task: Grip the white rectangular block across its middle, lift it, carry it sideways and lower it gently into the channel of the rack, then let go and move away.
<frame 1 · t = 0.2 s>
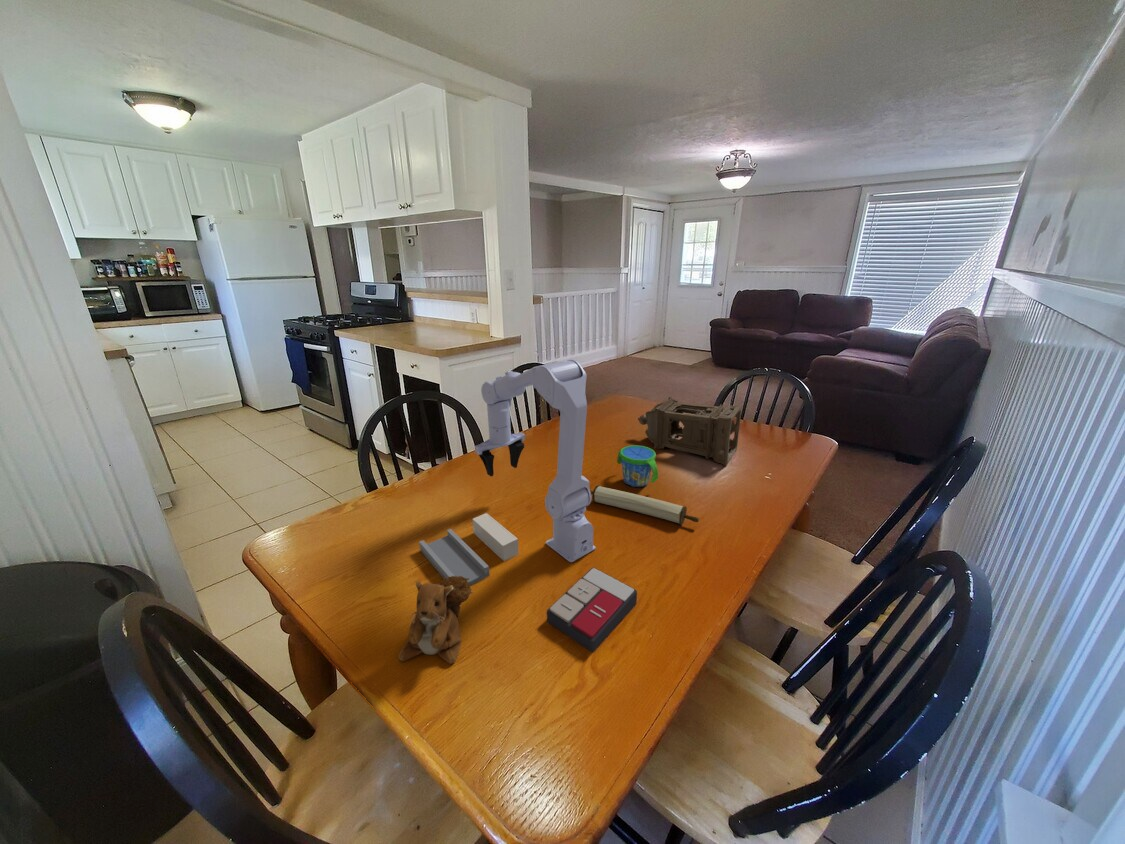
hand: (502, 470, 118), 10 cm above the table, tool pointing down, fingers open, 7 cm apart
calculator: (592, 614, 83), on the table
rack: (453, 562, 97), on the table
rolling pin: (637, 512, 116), on the table
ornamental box: (681, 447, 156), on the table
stuffed squirrel: (441, 636, 78), on the table
white rectangular block: (495, 544, 104), on the table
snack cup: (635, 482, 132), on the table
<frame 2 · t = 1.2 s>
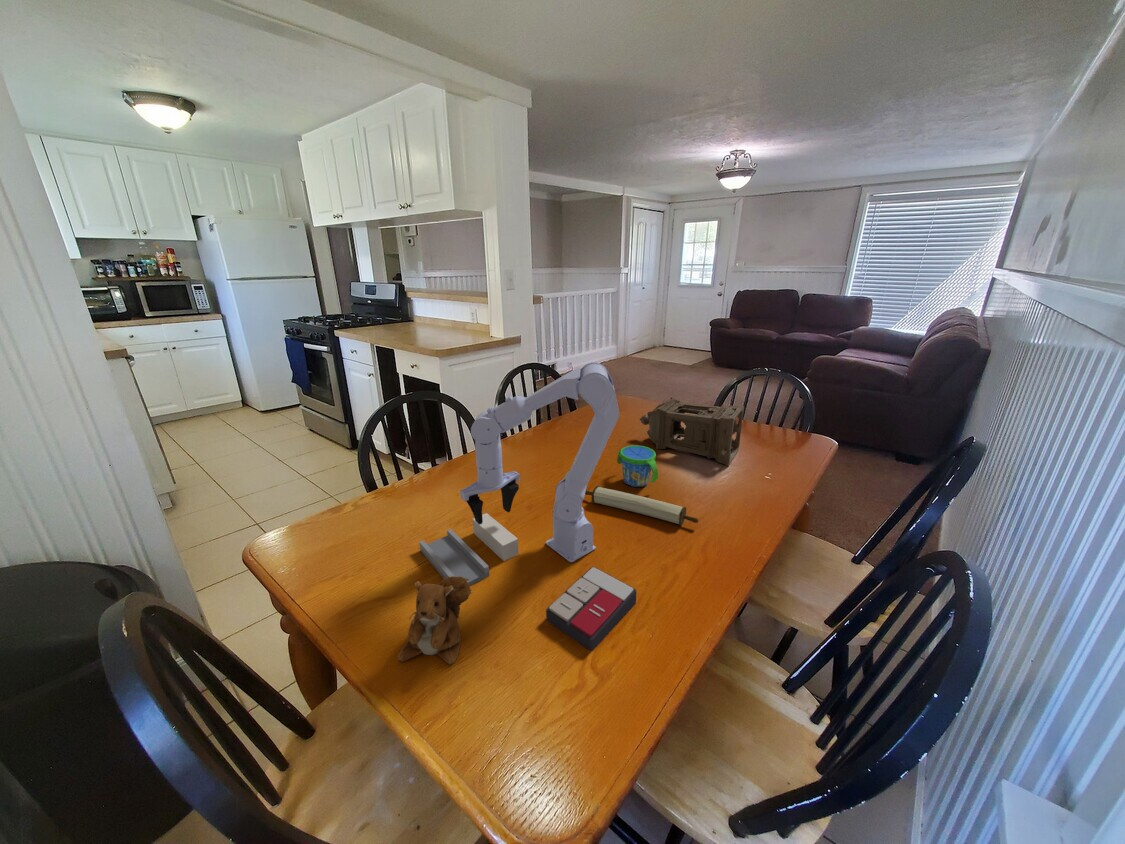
hand: (493, 516, 101), 8 cm above the table, tool pointing down, fingers open, 7 cm apart
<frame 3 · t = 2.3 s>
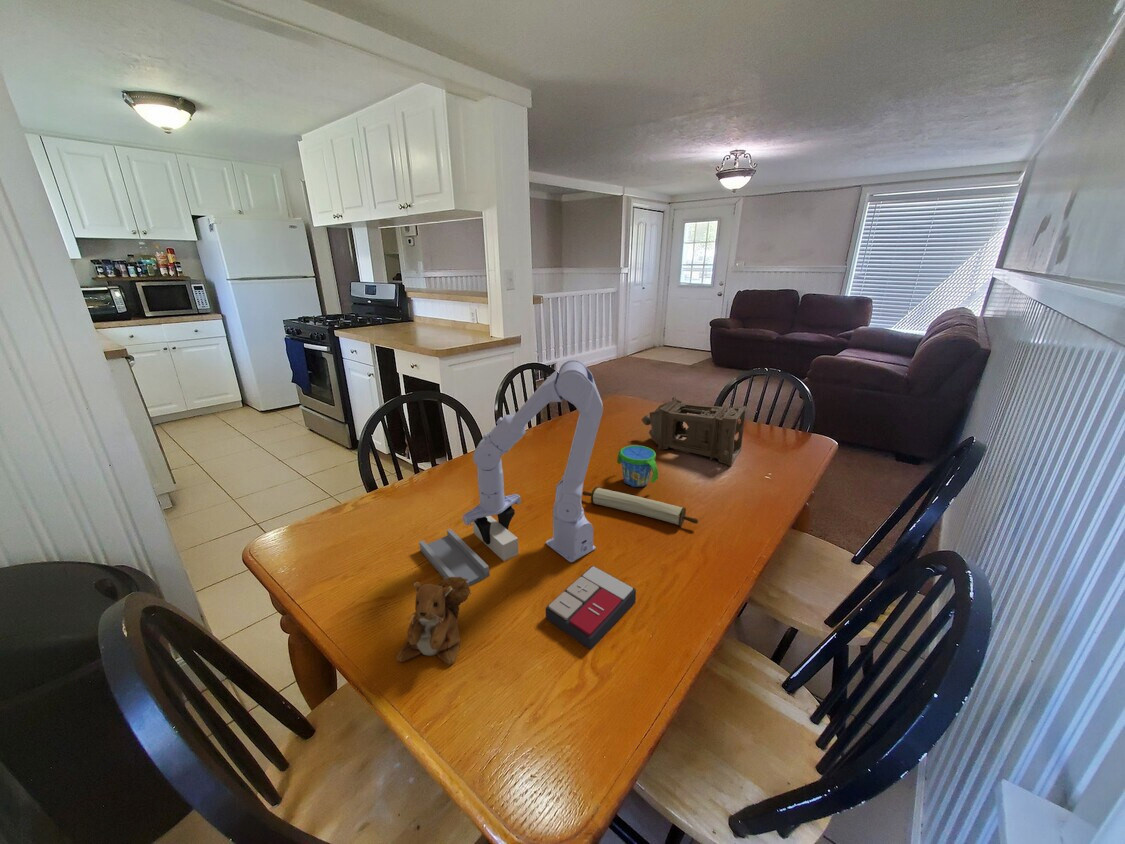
hand: (494, 538, 103), 1 cm above the table, tool pointing down, fingers closed on white rectangular block, 4 cm apart
white rectangular block: (495, 543, 104), on the table, touching gripper
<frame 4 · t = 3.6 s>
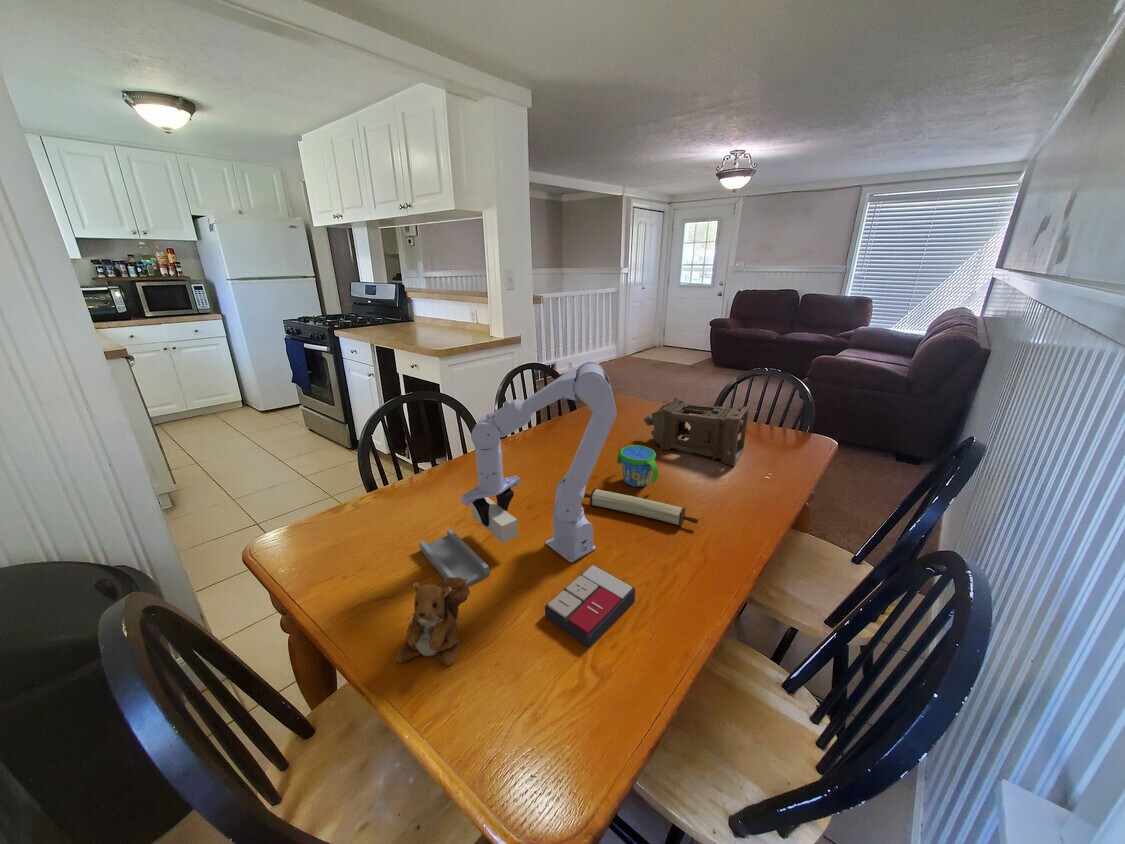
hand: (493, 520, 101), 6 cm above the table, tool pointing down, fingers closed on white rectangular block, 4 cm apart
white rectangular block: (494, 526, 102), point 5 cm above the table, touching gripper
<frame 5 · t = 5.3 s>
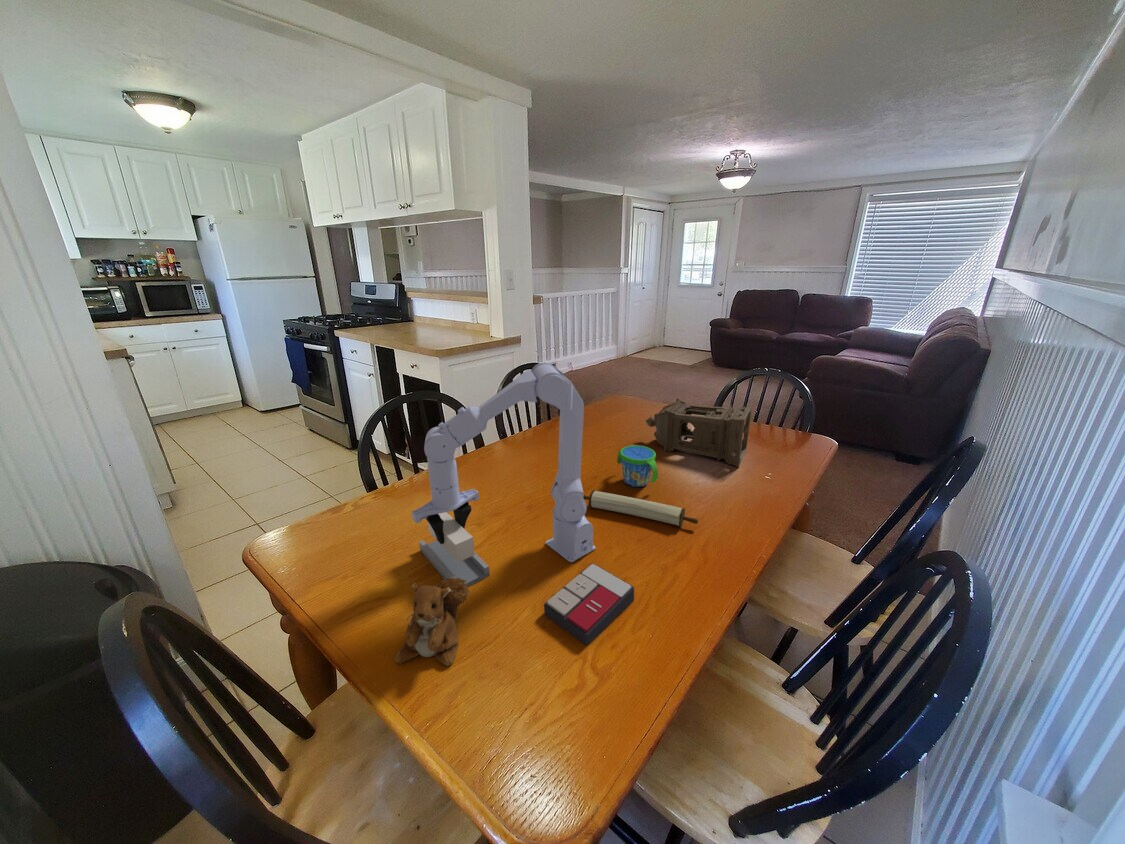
hand: (450, 537, 95), 7 cm above the table, tool pointing down, fingers closed on white rectangular block, 4 cm apart
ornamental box: (691, 449, 155), on the table
white rectangular block: (451, 543, 95), point 5 cm above the table, touching gripper
when the fingers open (4 cm above the table, at t = 6.6 s): white rectangular block drops 1 cm, resting on rack.
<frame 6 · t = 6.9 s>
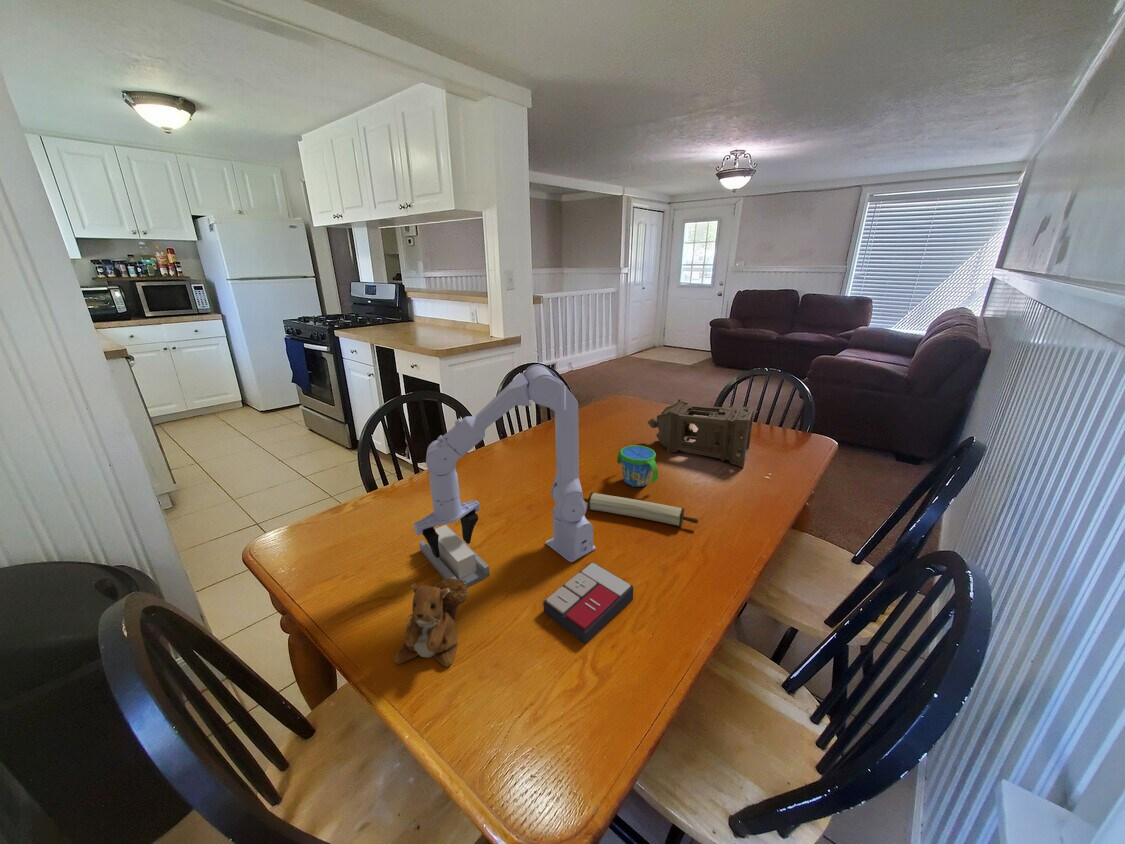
hand: (451, 548, 96), 4 cm above the table, tool pointing down, fingers open, 7 cm apart
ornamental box: (694, 450, 154), on the table
white rectangular block: (453, 558, 97), point 1 cm above the table, touching rack
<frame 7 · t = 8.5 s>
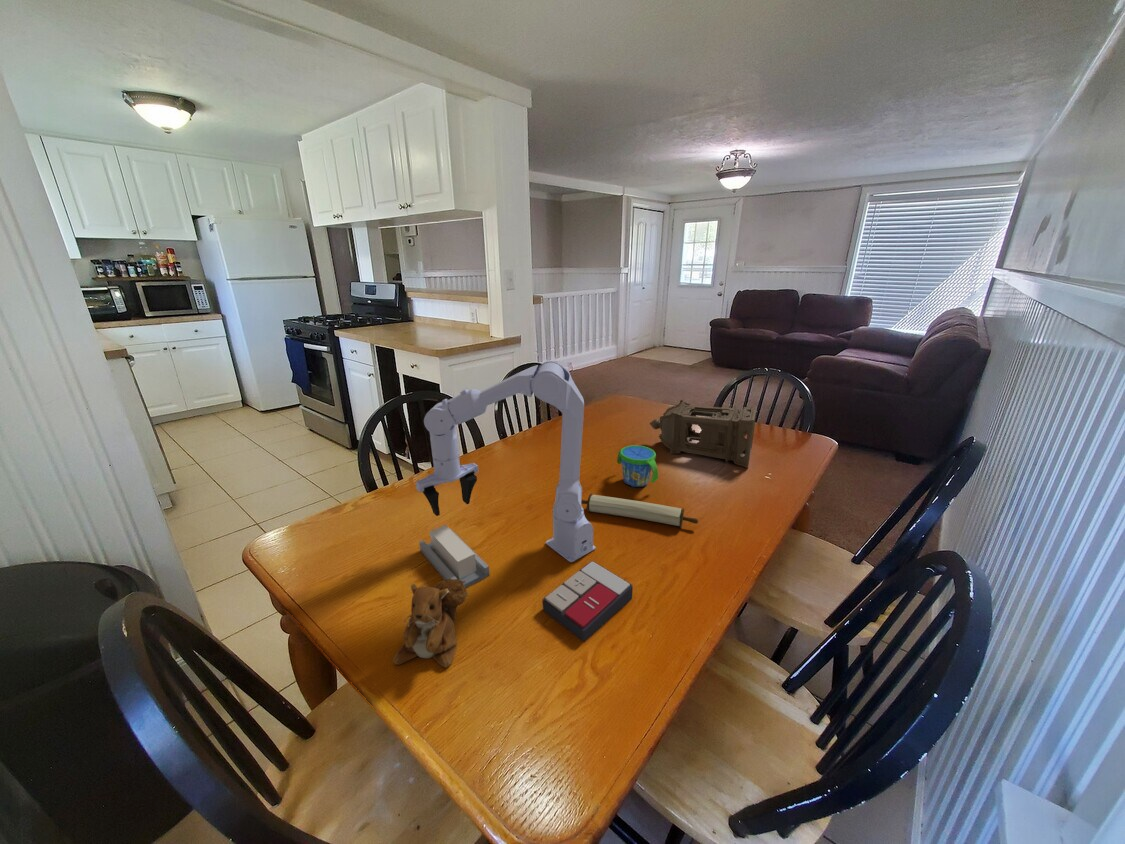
hand: (451, 508, 101), 9 cm above the table, tool pointing down, fingers open, 7 cm apart
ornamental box: (696, 451, 153), on the table
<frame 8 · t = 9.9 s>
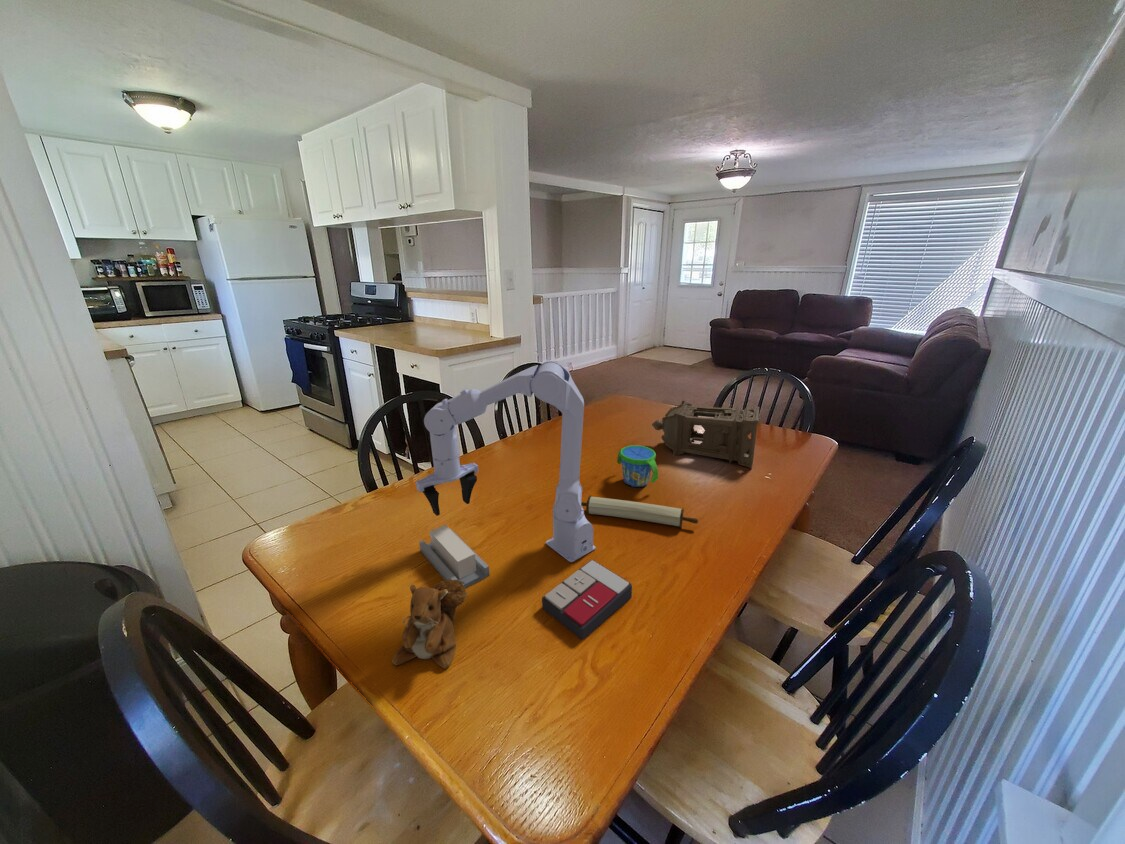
hand: (451, 507, 101), 9 cm above the table, tool pointing down, fingers open, 7 cm apart
at the end: white rectangular block 0.1 cm off-centre on the rack, point 1.0 cm above the rack's base; the gripper is holding nothing; white rectangular block tilted 0° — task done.
